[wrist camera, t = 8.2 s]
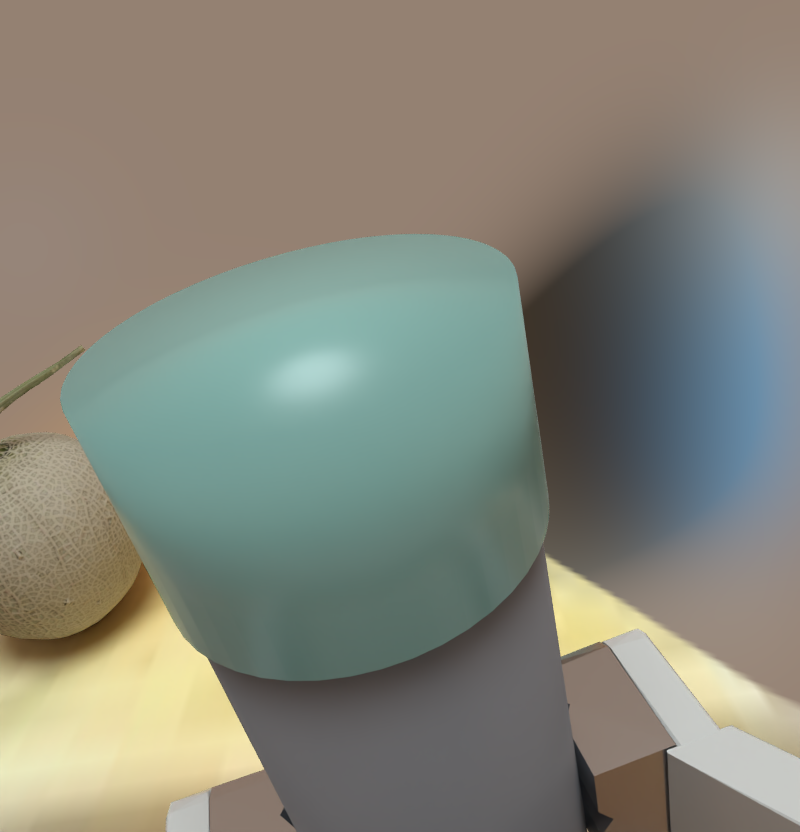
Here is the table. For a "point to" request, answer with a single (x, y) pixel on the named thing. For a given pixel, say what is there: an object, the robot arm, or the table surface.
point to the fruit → (56, 534)
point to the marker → (351, 525)
